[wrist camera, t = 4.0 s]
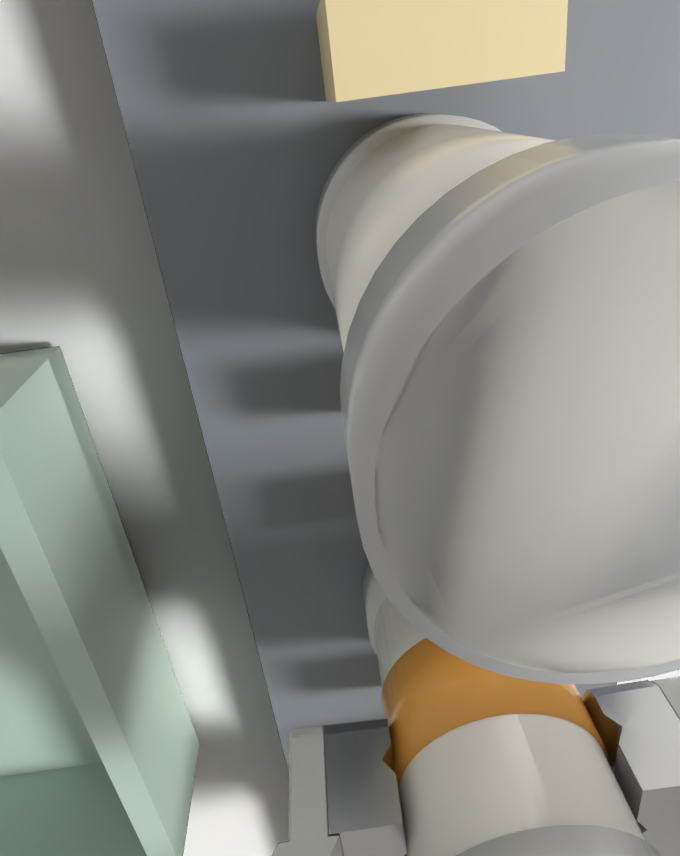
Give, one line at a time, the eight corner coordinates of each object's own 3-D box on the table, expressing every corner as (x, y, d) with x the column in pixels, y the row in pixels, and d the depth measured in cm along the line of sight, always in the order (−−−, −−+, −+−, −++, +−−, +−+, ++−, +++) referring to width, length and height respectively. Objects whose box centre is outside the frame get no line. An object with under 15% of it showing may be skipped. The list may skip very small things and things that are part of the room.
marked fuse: (354, 528, 12) (417, 982, 6) (518, 506, 12) (755, 935, 6) (370, 646, 14) (435, 1106, 7) (516, 626, 14) (703, 1069, 7)
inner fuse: (300, 129, 9) (315, 205, 3) (526, 99, 9) (1080, 99, 3) (329, 343, 10) (382, 714, 4) (522, 317, 10) (868, 648, 4)
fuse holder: (80, -134, 8) (-55, -282, 5) (682, -216, 8) (927, -414, 5) (321, 864, 19) (327, 1013, 16) (575, 829, 19) (630, 972, 16)
